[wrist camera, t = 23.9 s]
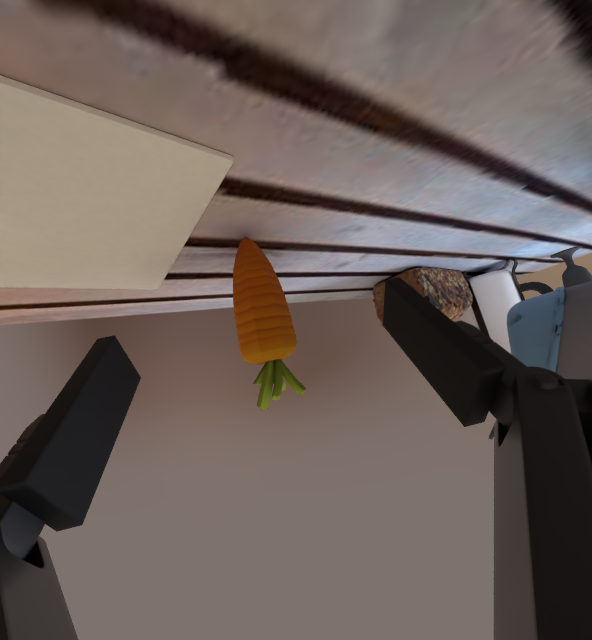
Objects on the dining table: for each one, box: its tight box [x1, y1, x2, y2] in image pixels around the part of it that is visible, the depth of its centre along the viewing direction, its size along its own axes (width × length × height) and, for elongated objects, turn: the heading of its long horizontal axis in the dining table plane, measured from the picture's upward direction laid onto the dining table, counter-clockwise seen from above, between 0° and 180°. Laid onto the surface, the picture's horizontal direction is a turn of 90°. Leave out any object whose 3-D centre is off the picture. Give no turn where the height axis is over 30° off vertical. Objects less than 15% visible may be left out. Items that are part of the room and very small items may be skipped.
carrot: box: [233, 237, 306, 410], centre depth 24 cm, size 5×5×15 cm
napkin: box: [0, 75, 234, 290], centre depth 18 cm, size 20×18×1 cm
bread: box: [373, 267, 473, 328], centre depth 53 cm, size 19×11×10 cm, turn 53°
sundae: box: [551, 247, 592, 288], centre depth 60 cm, size 7×7×15 cm
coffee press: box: [460, 259, 553, 354], centre depth 59 cm, size 17×16×30 cm
